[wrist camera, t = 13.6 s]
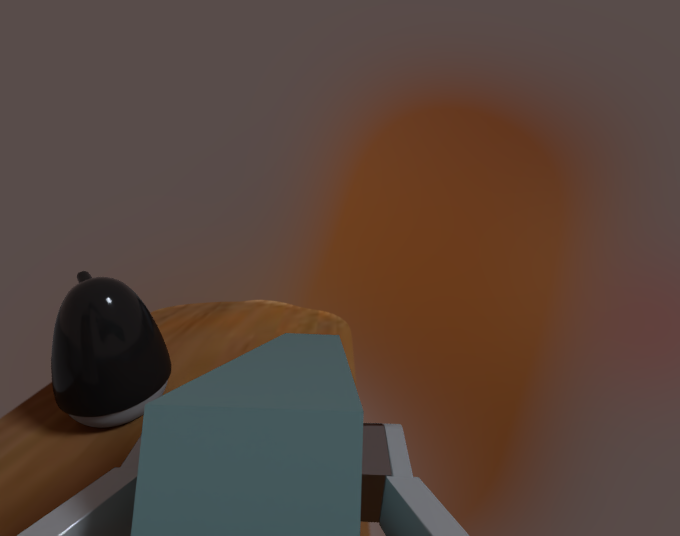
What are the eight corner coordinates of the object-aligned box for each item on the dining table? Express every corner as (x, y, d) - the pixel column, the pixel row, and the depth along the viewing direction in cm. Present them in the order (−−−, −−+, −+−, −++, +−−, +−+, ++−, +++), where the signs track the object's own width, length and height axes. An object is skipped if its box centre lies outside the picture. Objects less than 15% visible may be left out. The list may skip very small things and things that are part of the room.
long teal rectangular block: (114, 687, 6) (144, 404, 6) (281, 396, 24) (285, 333, 25) (355, 690, 6) (363, 411, 6) (336, 397, 24) (339, 335, 25)
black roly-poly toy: (153, 362, 44) (134, 252, 38) (191, 406, 37) (174, 282, 32) (54, 403, 36) (12, 275, 31) (80, 466, 30) (32, 319, 24)
